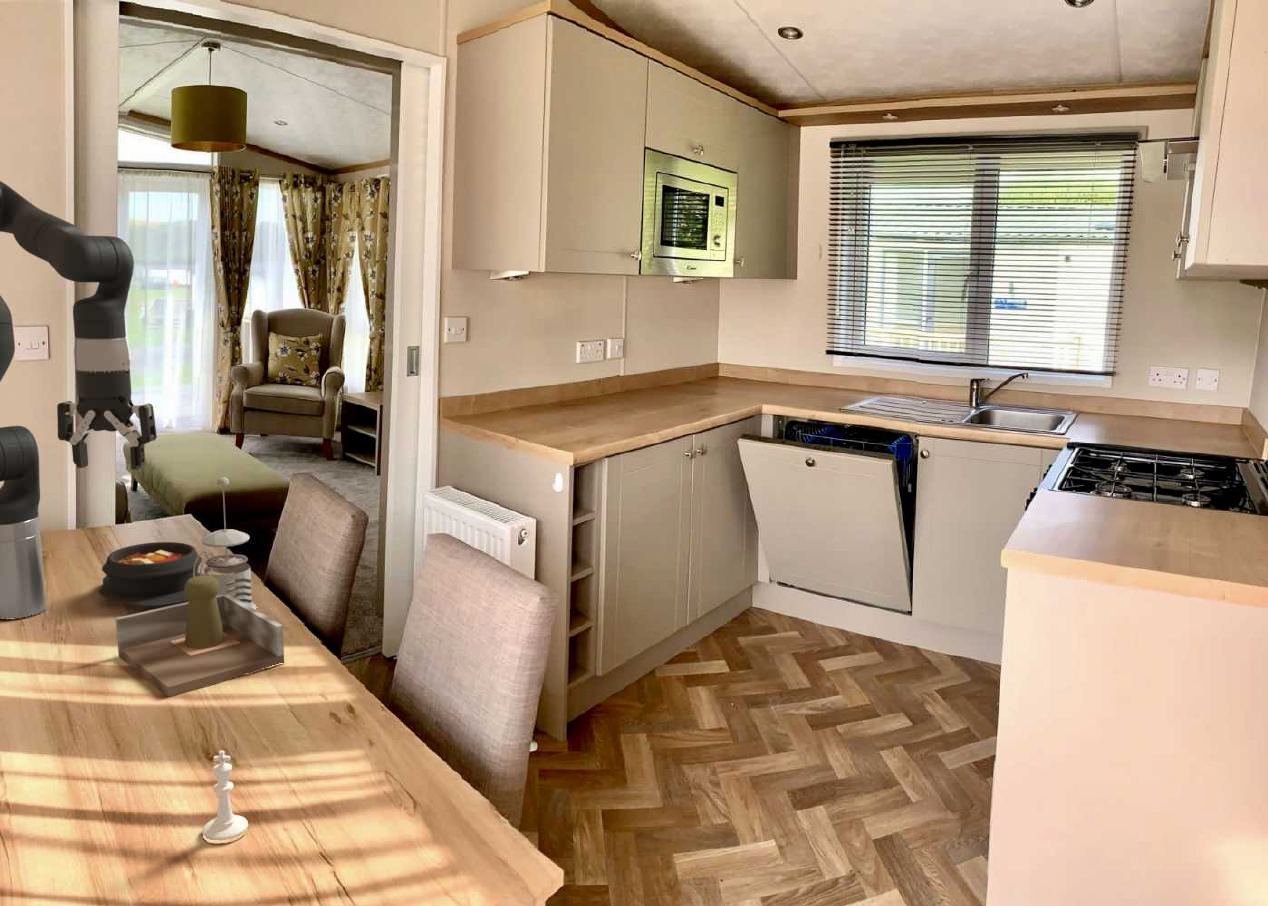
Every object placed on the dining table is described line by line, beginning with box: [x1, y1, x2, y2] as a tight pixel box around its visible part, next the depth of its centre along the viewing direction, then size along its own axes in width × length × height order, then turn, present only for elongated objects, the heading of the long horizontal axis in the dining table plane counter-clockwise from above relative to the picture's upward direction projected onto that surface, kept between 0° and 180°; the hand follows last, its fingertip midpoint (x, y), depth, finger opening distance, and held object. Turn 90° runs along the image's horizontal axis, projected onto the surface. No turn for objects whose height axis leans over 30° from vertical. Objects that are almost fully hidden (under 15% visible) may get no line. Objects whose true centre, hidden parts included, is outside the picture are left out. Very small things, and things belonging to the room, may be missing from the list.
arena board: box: [115, 593, 285, 698], centre depth 157 cm, size 20×18×6 cm
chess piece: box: [202, 750, 249, 841], centre depth 111 cm, size 5×5×10 cm
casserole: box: [98, 541, 204, 609], centre depth 186 cm, size 25×19×8 cm
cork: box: [184, 576, 225, 649], centre depth 160 cm, size 6×6×11 cm
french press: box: [193, 477, 258, 610], centre depth 176 cm, size 10×12×25 cm
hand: (109, 467), depth 156 cm, fingers open, 8 cm apart
